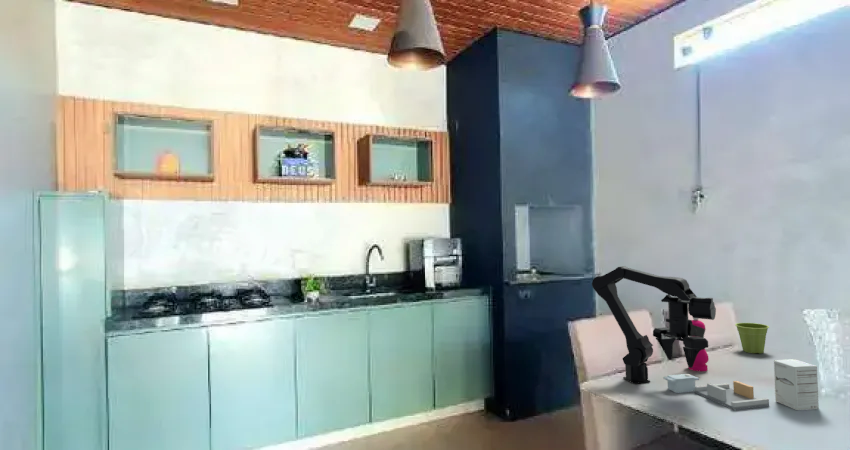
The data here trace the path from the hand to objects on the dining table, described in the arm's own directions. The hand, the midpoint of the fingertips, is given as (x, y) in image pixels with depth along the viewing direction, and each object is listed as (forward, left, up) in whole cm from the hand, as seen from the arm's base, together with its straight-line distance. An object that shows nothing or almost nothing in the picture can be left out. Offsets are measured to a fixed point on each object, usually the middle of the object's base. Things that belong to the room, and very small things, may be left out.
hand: (680, 363), depth 150 cm
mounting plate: (+8, -11, -9) cm, 16 cm away
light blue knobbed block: (0, 0, -9) cm, 9 cm away
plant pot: (+62, +33, -9) cm, 71 cm away
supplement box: (+22, -20, -9) cm, 31 cm away
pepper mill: (+22, +18, -9) cm, 30 cm away
